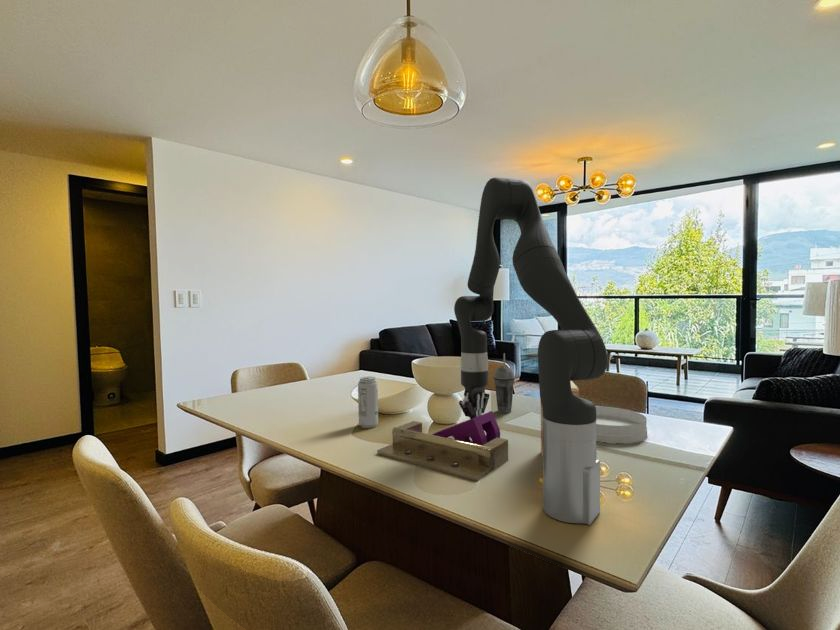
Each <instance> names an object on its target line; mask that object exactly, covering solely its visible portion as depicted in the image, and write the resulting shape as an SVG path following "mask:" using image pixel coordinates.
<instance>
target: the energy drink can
mask: <svg viewBox="0 0 840 630" xmlns="http://www.w3.org/2000/svg"><path fill="white" fill-rule="evenodd" d="M378 387H379V385H378V381H377V380H376V376H362V377H359V381H358V383H357V393H358V394H357V399H358V401H357V402H358V404H357V405H358V406H357V408H358V425H360V427H361V428H363V429H371V428H376V427H377V424H379V400H378V397H379V395H378Z"/></svg>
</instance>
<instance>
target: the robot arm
mask: <svg viewBox="0 0 840 630" xmlns="http://www.w3.org/2000/svg"><path fill="white" fill-rule="evenodd" d="M479 206H480V207H479V214H478V220H477V222H478V223H477V228H476V229H477V230H476V231H477V232H476V239H475V240H476V242H475V250H474V255H473V256H474V257H473V260H472V264H471V268H470V271H469V276H468V279H467V284H466V285H467V287H468V290H469V291H470V292H471V293H473V294H476V295H462V296H459V297H458V298H456V301H455V302H454V308H453V309H454V316H455V319H456V322H457V326H458V329H459V333H460V334H459V335H460V341H461V342H460V343H461V344H460V345H461V346H460V347H461V353H460V354H461V355H460V356H461V357H460V385H461V386H462V387H464V393H463V396H464V397H463V400H459V401H458V404H459V406H460V408H461V410H462V412H463V414H464V415H465V417H467V418H469V420H470V419H472V418H475V417H477V416H480V415H483V414H485V413H486V412H485V411H486V408H487V405H488V402H489V400H490V393H486V388H485V387H487V386H488V385H489V357H488V336H487V333H486V332H485V331H483V330H480V329H475V328H474V327H473V326H472V323H471V322H486V321H488V320H489V319H490V318H491V317H492V315H493V314H494V292H495V291H494V290H495V289H494V288H495V285H496V282H497V278H498V275H499V271H500V266H501V261H500V260H501V259H500V254H499V252H498V248H497V246H496V243H495V237H494V226H495V221H496V220H510V221H511V220H513V221H515V222H516V223H517V225H518V228H519V230H520V235H519V238H518V240H517V243H516V245H515V247H514V250H513V253H512V266H513V268H514V271H515V274H516V278H517V279H518V282H519V284H520V287H521V288H522V290H523V291H524V292H525V293H526V294H527V295H528V297H530V298H531V299H532V300H533V301H534V302H535V303H537V304H538V305H539V306H540V307H542V308H543V309H544V310H546V312H547V313H548V314H549V315H550V316H552V317H553V318H554V320H555V321H556V323H557V324H558V325H559V327H560V329H552V330H546V331H545V332H544V333H543V334H542V336H541V337H540V339H539V341H538V347H537V367H538V368H537V369H538V385H539V388H538V389H539V400H540V405H541V404H542V409H543V458H542V502H543V503H542V508H543V511H544V513H545V514H546V515H548V517H550V518H552V519H555V520H557V521H560V522H564V523H570V524H586V525H589V526H590V525H592V524H593V522H594V521H595V519H596V518H597V516H598V515H599V514H600V512H601V461H600V459H597V442H596V406H597V405H595V403H594V402H592V401H591V400H588V399H585V398H582V397H580V396H579V397H576V396H575V395H573V394H572V390H571V382H570V381H572V382H574V381H585V380H595V379H598V378H600V377H602V376H603V375H604V374H605V372H606V370H607V368H608V362H609V360H608V359H609V358H608V352H607V348H606V345H605V342H604V339H603V337H602V336H601V334H600V332H599V330H598V328H597V327H596V325H595V324H594V322H593V321H592V318H591V317H590V315H589V314H588V312H587V310H586V309H585V308H584V306H583V303H582V302H581V301H580V299H579V296H578V294H577V293H576V290H575V288H574V287H573V285H572V282H571V280H570V279H569V277H568V274H567V272H566V270H565V267H564V265H563V264H564V263H563V262H562V260H561V258H560V255H559V253H558V251H557V250H556V248H555V245H554V243H553V241H552V240H551V238H550V235H549V233H548V229H547V227H546V225H545V223H544V220H543V217H542V214H541V211H540V207H539V204H538V201H537V198H536V195H535V192H534V189H533V188H532V185H530V183H529V182H528V181H526V180H523V179H516V178H506V177H505V178H504V177H492V178H489V180H488V181H487V182H485V185H484V187H483V191H482V194H481V199H480V205H479Z"/></svg>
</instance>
